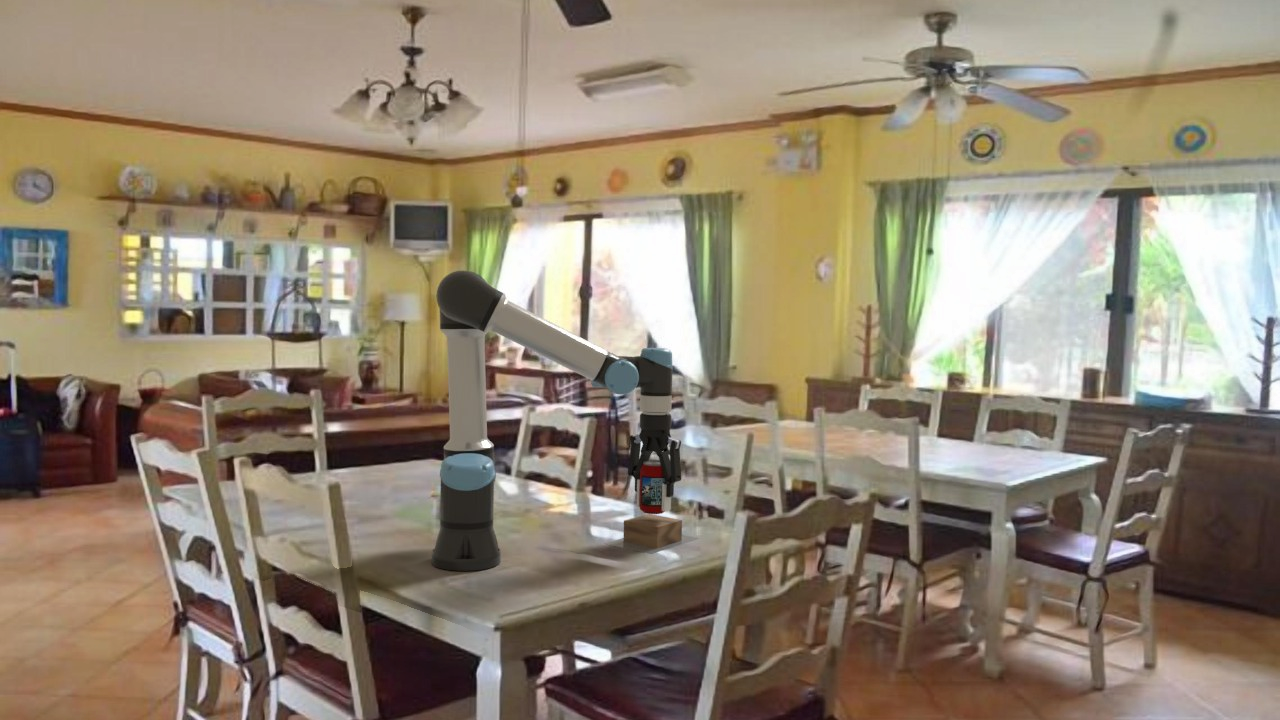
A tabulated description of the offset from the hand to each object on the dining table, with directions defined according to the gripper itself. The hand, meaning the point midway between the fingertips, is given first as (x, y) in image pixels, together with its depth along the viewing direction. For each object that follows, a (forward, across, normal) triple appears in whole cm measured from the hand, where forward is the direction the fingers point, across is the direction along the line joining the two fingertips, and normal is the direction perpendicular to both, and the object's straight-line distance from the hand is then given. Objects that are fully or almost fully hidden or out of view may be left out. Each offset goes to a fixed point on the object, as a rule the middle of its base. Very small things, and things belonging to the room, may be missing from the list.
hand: (653, 507), depth 243 cm
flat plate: (+9, 0, 0) cm, 9 cm away
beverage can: (+1, 0, 0) cm, 1 cm away
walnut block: (+8, 0, 0) cm, 8 cm away
